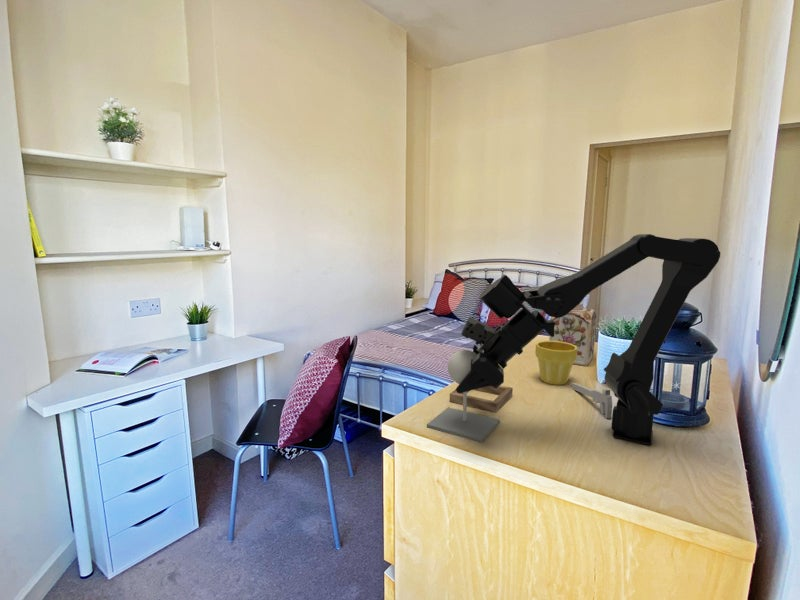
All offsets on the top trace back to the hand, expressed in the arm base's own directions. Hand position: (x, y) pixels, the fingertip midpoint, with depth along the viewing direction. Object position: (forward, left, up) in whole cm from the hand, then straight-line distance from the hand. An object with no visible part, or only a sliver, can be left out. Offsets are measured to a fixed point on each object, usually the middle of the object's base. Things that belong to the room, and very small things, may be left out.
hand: (458, 385), depth 86 cm
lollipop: (-1, 0, -8) cm, 8 cm away
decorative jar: (-11, -60, -9) cm, 62 cm away
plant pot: (-11, -37, -9) cm, 40 cm away
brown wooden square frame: (+1, -15, -8) cm, 18 cm away
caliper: (-21, -27, -9) cm, 36 cm away
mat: (-1, 0, -8) cm, 9 cm away
